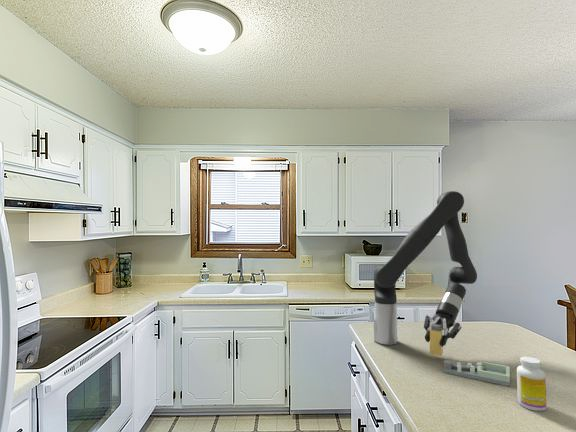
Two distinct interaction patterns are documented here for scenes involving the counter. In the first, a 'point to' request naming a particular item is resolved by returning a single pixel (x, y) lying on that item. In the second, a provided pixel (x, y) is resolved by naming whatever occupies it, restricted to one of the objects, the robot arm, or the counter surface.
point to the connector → (436, 340)
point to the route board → (480, 371)
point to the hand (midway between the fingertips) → (433, 342)
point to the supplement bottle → (531, 384)
